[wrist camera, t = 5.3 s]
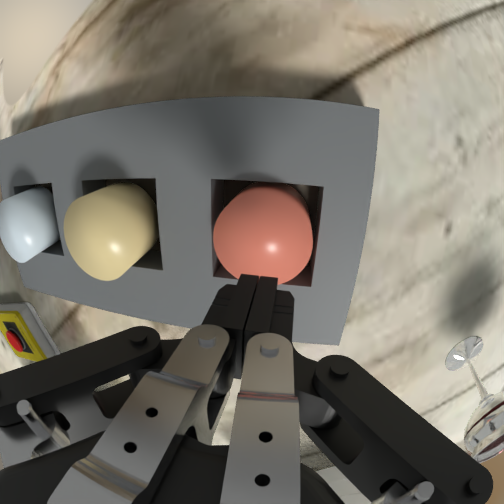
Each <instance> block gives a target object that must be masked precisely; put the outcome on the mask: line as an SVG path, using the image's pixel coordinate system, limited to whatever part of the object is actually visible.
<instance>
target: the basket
mask: <svg viewBox="0 0 504 504" xmlns="http://www.w3.org/2000/svg"><path fill="white" fill-rule="evenodd" d="M315 472H316V473H318V474H319V475H320V476H321V477H322V478H323V479H324V480H325V481H326V482H327V483H328V484H329V486H330V487H331V488H332V489H333V490H334V492H335V493H336V494H337V495H338V496H339V497H340V498H341V500H342V501H343V502H344V503H345V504H371V502H370V501H369V500H368V499H367V498H366V497H365V496H364V495H363V494H362V493H361V492H360V491H359V490H358V489H357V488H356V487H355V486H354V485H353V484H352V483H351V482H350V481H349V480H348V479H347V478H346V477H345V476H344V475H343V474H342V472H341V471H340V470H339V469H338V468H337V467H336V466H333V467H330V468H326V469H323V470H319V471H315Z"/></svg>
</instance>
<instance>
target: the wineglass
mask: <svg viewBox="0 0 504 504" xmlns="http://www.w3.org/2000/svg"><path fill="white" fill-rule="evenodd" d="M482 347H483V341H482V339H481V338H480V337H477V336H475V337H470V338H467V339H465V340H463V341H462V342H460V343H459V344H457V345H456V346H455V347H454V348H453V349H452V350H451V352H450V353H449V354H448V356H447V358H446V362H445V365H446V368H447V369H448V370H451V371H456V370H460V369H463V368H465V367H466V366H469V369H470V371H471V373H472V376H473V378H474V381H475V383H476V386H477V388H478V391H479V393H480V396H481V400H480V403H479V406H478V407H477V408H476V409H475V411H474V412H473V413H472V415H471V417H470V419H469V421H468V424H467V426H466V428H465V431H464V443H465V448H466V450H467V451H468V452H470V453H471V454H472V455H471V457H472V458H473V459H475V460H476V461H477V462H478V463H481V462H484V461H486V460H488V459H490V458H492V457H494V456H496V455H498V454H499V453H501V452H503V451H504V392H500V393H497V394H495V395H493V394H488V393H487V391H486V389H485V387H484V385H483V383H482V381H481V379H480V378H479V376H478V374H477V372H476V370H475V369H474V367H473V365H472V362H473V361H474V360H475V359H476V358H477V357H478V355H479V354H480V352H481V350H482Z"/></svg>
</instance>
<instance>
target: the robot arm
mask: <svg viewBox="0 0 504 504" xmlns="http://www.w3.org/2000/svg"><path fill="white" fill-rule="evenodd" d="M277 286H278V278H277V277H268V276H260V279H259V276H258V275H250V274H241V275H240V277H239V280H238V282H237V285H233V284H226V285H225V286H223V287H222V288H220V289H219V290H218V292H217V294H216V296H215V299H214V300H213V302H212V305H211V306H210V308H209V310H208V312H207V314H206V316H205V318H204V320H203V322H202V324H201V325H199V326H196V327H193V328H192V329H190V330H189V331H188V332H187V333H186V335H185V336H184V338H182V339H172V340H160V335H159V333H158V332H157V331H156V330H155V329H153V328H151V327H146V326H137V327H132V328H129V329H127V330H124V331H122V332H119V333H116V334H114V335H111V336H108V337H105V338H103V339H100V340H97V341H95V342H92V343H89V344H86V345H84V346H81V347H78V348H75V349H72V350H70V351H67V352H64V353H61V354H58V355H56V356H53V357H50V358H47V359H44V360H41V361H38V362H35V363H32V364H30V365H27V366H24V367H21V368H18V369H15V370H12V371H9V372H6V373H3V374H0V453H1V458H2V462H3V466H4V469H2V470H1V471H0V504H345V503H344V502H343V501H342V500H341V498H340V497H339V496H338V495H337V494H336V493H335V492H334V490H333V489H332V488H331V487H330V486H329V484H328V483H327V482H326V481H325V480H324V479H323V478H322V477H321V476H320V475H319V474H318V473H316V472H315V471H314V470H312V469H311V468H309V467H307V466H306V465H304V464H302V463H300V426H301V428H302V429H303V431H304V432H305V433H306V434H307V435H308V436H309V438H310V439H311V440H312V441H313V442H314V443H315V444H316V445H317V447H318V448H319V449H320V450H321V451H322V452H323V453H324V454H325V455H326V456H327V458H328V459H329V460H330V461H331V462H332V463H333V464H334V465H335V466H336V467H337V468H338V469H339V470H340V471H341V472H342V474H343V475H344V476H345V477H346V478H347V479H348V480H349V481H350V482H351V483H352V484H353V485H354V486H355V487H356V488H357V489H358V490H359V491H360V492H361V493H362V494H363V495H364V496H365V497H366V498H367V499H368V500H369V501H370V502H371V504H485V503H486V502H487V501H488V499H489V498H490V496H491V493H492V490H493V480H492V476H491V474H490V472H489V471H488V470H487V469H486V468H485V467H484V466H482V465H481V464H480V463H478V462H477V461H476V460H475V459H473V458H472V457H471V456H470V455H468V454H467V453H466V452H465V451H463V450H462V449H461V448H460V447H458V446H457V445H456V444H455V443H453V442H452V441H451V440H450V439H448V438H447V437H446V436H445V435H443V434H442V433H441V432H440V431H438V430H437V429H436V428H435V427H433V426H432V425H431V424H430V423H428V422H427V421H426V420H425V419H424V418H422V417H421V416H420V415H419V414H417V413H416V412H415V411H414V410H413V409H411V408H410V407H409V406H408V405H407V404H405V403H404V402H403V401H402V400H400V399H399V398H398V397H397V396H396V395H394V394H393V393H392V392H391V391H390V390H388V389H387V388H386V387H385V386H384V385H382V384H381V383H380V382H379V381H378V380H376V379H375V378H374V377H373V376H372V375H370V374H369V373H368V372H367V371H366V370H365V369H363V368H362V367H361V366H360V365H359V364H357V363H356V362H355V361H354V360H352V359H350V358H348V357H346V356H342V355H329V356H326V357H324V358H322V359H321V360H319V361H318V362H317V361H314V360H311V359H308V358H306V357H304V356H302V355H301V354H299V353H298V352H297V351H296V350H295V348H294V347H293V344H292V333H293V318H294V301H295V299H294V297H293V295H292V294H291V292H290V291H284V290H277ZM242 373H243V374H242ZM128 374H129V377H130V379H129V380H127V381H124V382H122V383H119V384H117V385H115V386H112V387H110V388H107V389H105V390H102V391H99V392H96V391H94V389H95V388H97V387H98V386H101V385H103V384H106V383H108V382H111V381H113V380H115V379H118V378H120V377H123V376H125V375H128ZM241 377H242V381H241V387H240V393H238V396H237V401H236V408H235V414H234V420H233V426H232V433H231V439H230V445H214V446H212V439H213V436H214V433H215V430H216V428H217V425H218V423H219V420H220V418H221V415H222V413H223V411H224V408H225V406H226V403H227V400H228V398H229V395H230V388H231V385H232V382H233V378H236V379H241ZM299 422H300V425H299Z"/></svg>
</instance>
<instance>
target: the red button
mask: <svg viewBox="0 0 504 504" xmlns="http://www.w3.org/2000/svg"><path fill="white" fill-rule="evenodd" d="M213 243H214V248H215V252H216V254H217V257H218V259H219V260H220V262H221V264H222V265H223V266H224V267H225V269H226V270H227V271H228V272H229V273H231V274H232V275H233V276H234V277H236V278H237V279H239V277H240V275H241V274H250V275H258V276H259V279H260V276H268V277H277V278H278V285H279V284H282V283H285V282H287V281H289V280H291V279H293V278H294V277H296V276H297V275H298V274H299V273H300V272H301V271H302V270H303V269H304V267H305V266H306V265H307V263H308V261H309V259H310V256H311V253H312V248H313V236H312V228H311V219H310V213H309V209H308V206H307V204H306V202H305V200H304V199H303V197H302V196H301V195H300V194H299V193H298V192H297V191H296V190H295V189H294V188H292V187H291V186H289V185H287V184H285V183H278V182H264V181H258V182H255V183H252V184H250V185H248V186H246V187H245V188H244V189H242V190H241V191H240V192H239V193H238V194H237V195H236V196H235V197H234V199H233V200H232V201H231V202H230V203H229V204H228V205H227V206H226V207H225V208H224V209H223V211H222V212H221V213H220V215H219V217H218V219H217V221H216V224H215V226H214V232H213Z"/></svg>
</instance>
